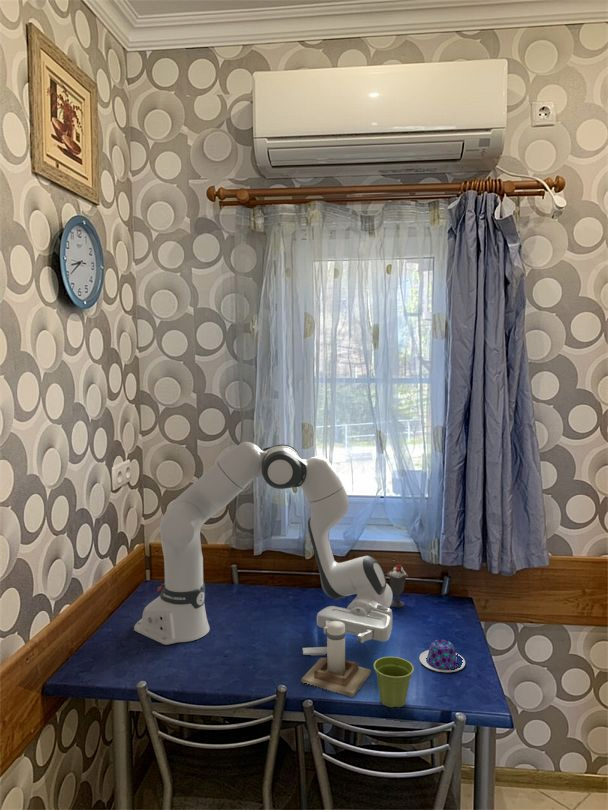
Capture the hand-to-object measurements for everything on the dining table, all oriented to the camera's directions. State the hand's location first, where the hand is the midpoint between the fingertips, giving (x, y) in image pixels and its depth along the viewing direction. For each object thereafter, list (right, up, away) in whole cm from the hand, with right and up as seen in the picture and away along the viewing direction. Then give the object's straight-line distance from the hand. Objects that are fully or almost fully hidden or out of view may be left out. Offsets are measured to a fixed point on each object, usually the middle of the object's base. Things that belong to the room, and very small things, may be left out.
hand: (342, 635), depth 160 cm
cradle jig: (-2, -10, -2) cm, 10 cm away
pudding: (+27, -10, +6) cm, 29 cm away
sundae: (+20, -6, +42) cm, 47 cm away
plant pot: (+11, -11, -12) cm, 20 cm away
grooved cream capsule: (-2, -9, -2) cm, 9 cm away
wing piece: (-5, -9, +11) cm, 15 cm away
